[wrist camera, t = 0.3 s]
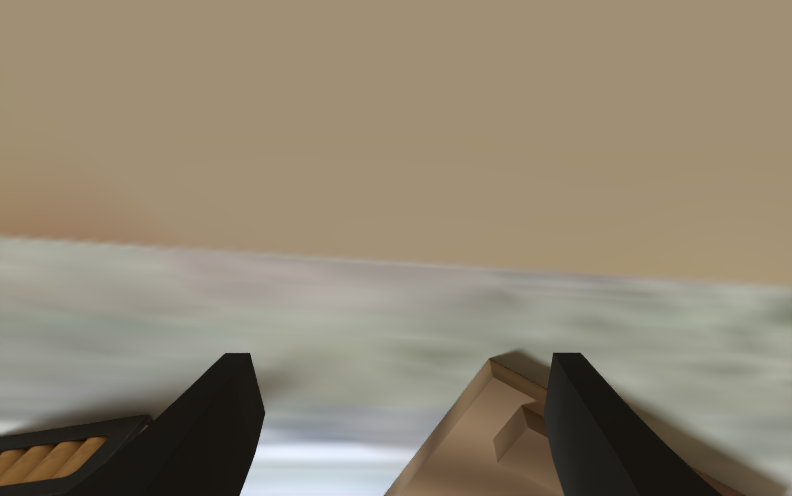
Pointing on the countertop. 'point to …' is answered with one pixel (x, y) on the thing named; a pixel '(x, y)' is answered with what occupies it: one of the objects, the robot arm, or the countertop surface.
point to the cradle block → (492, 444)
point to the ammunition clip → (62, 455)
